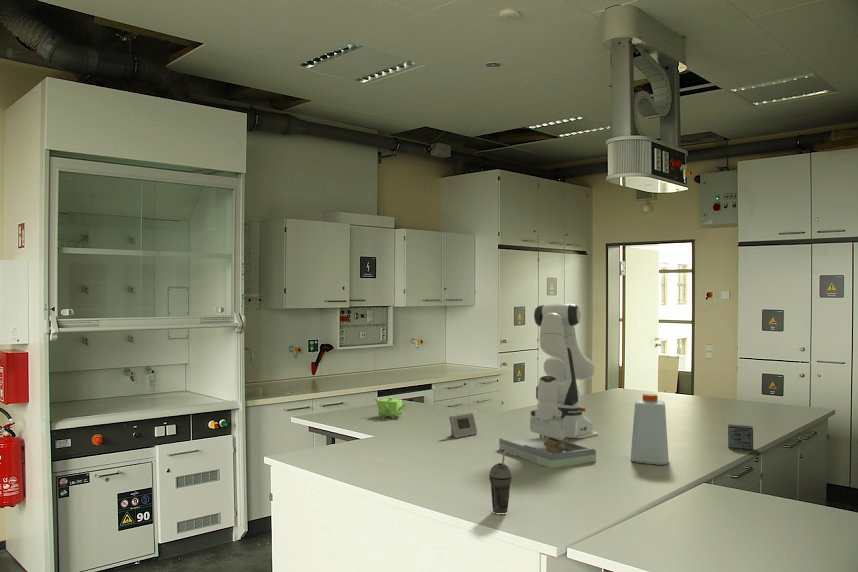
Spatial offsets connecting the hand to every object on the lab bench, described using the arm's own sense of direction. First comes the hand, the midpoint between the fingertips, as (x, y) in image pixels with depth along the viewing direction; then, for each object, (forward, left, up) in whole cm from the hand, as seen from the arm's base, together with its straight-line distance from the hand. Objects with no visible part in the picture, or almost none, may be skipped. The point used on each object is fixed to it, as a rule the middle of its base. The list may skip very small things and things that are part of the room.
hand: (547, 446), depth 287 cm
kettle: (+22, -111, -5) cm, 113 cm away
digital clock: (+11, -51, -5) cm, 52 cm away
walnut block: (0, +5, -1) cm, 5 cm away
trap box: (0, -1, -4) cm, 4 cm away
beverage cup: (+62, +52, -5) cm, 81 cm away
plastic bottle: (-34, +26, -5) cm, 43 cm away
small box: (-91, +29, -5) cm, 95 cm away
